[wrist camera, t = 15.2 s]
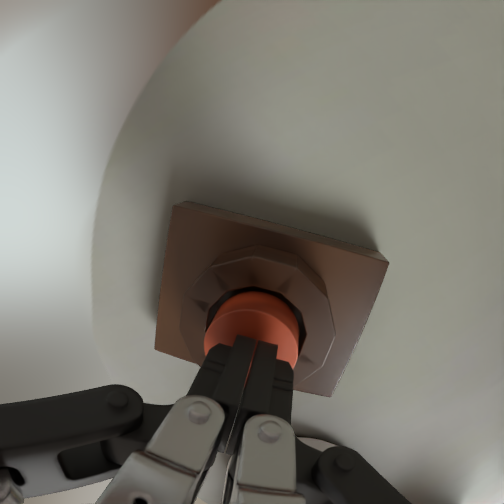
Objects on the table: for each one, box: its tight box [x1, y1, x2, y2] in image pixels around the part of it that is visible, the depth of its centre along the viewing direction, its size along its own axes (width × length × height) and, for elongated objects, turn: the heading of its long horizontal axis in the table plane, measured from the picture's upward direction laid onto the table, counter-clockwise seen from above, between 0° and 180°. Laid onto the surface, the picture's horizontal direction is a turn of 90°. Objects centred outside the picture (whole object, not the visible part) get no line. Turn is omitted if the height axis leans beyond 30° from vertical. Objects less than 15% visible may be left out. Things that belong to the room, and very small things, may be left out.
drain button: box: [204, 291, 299, 383], centre depth 12 cm, size 4×4×2 cm
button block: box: [155, 201, 389, 397], centre depth 14 cm, size 10×8×4 cm
